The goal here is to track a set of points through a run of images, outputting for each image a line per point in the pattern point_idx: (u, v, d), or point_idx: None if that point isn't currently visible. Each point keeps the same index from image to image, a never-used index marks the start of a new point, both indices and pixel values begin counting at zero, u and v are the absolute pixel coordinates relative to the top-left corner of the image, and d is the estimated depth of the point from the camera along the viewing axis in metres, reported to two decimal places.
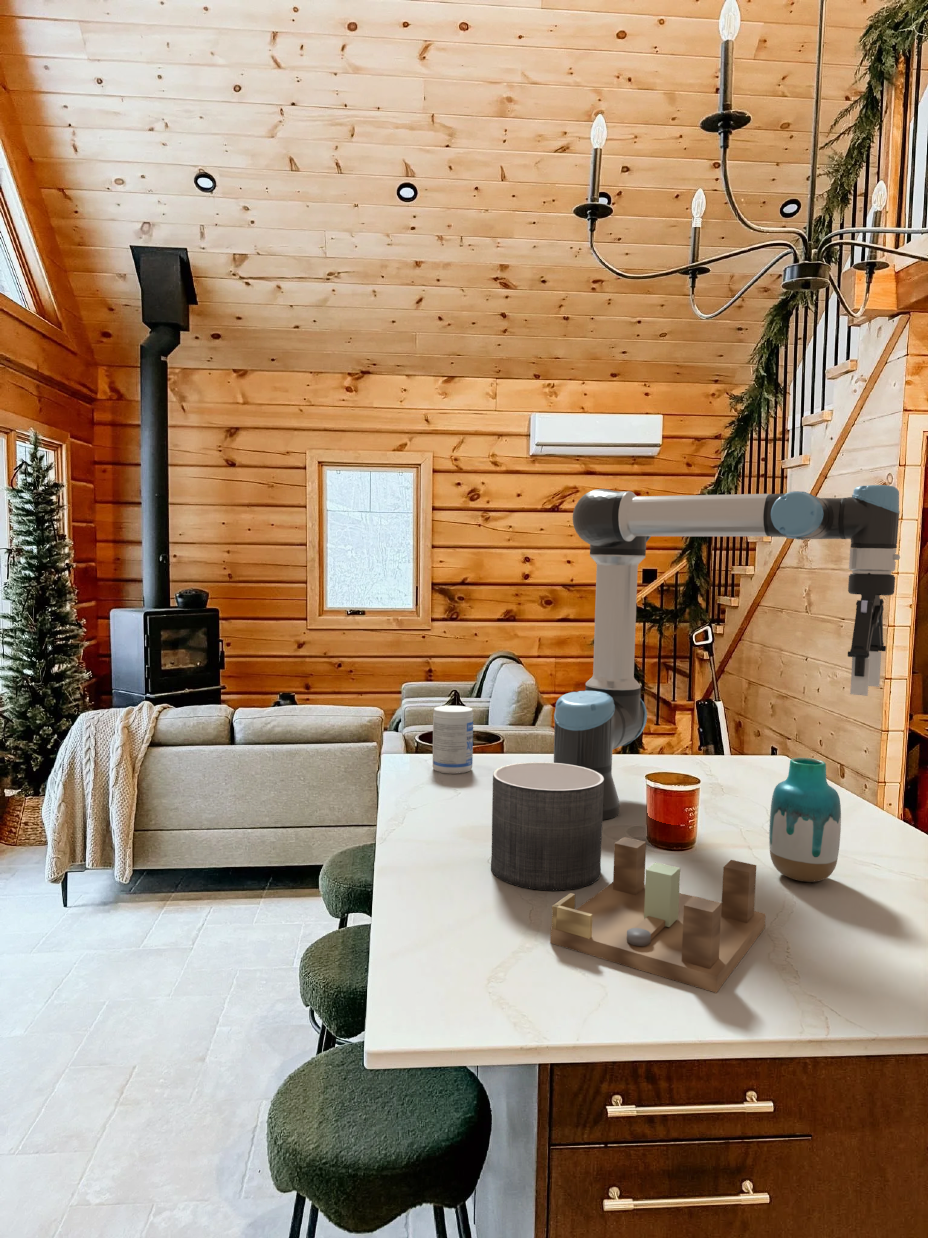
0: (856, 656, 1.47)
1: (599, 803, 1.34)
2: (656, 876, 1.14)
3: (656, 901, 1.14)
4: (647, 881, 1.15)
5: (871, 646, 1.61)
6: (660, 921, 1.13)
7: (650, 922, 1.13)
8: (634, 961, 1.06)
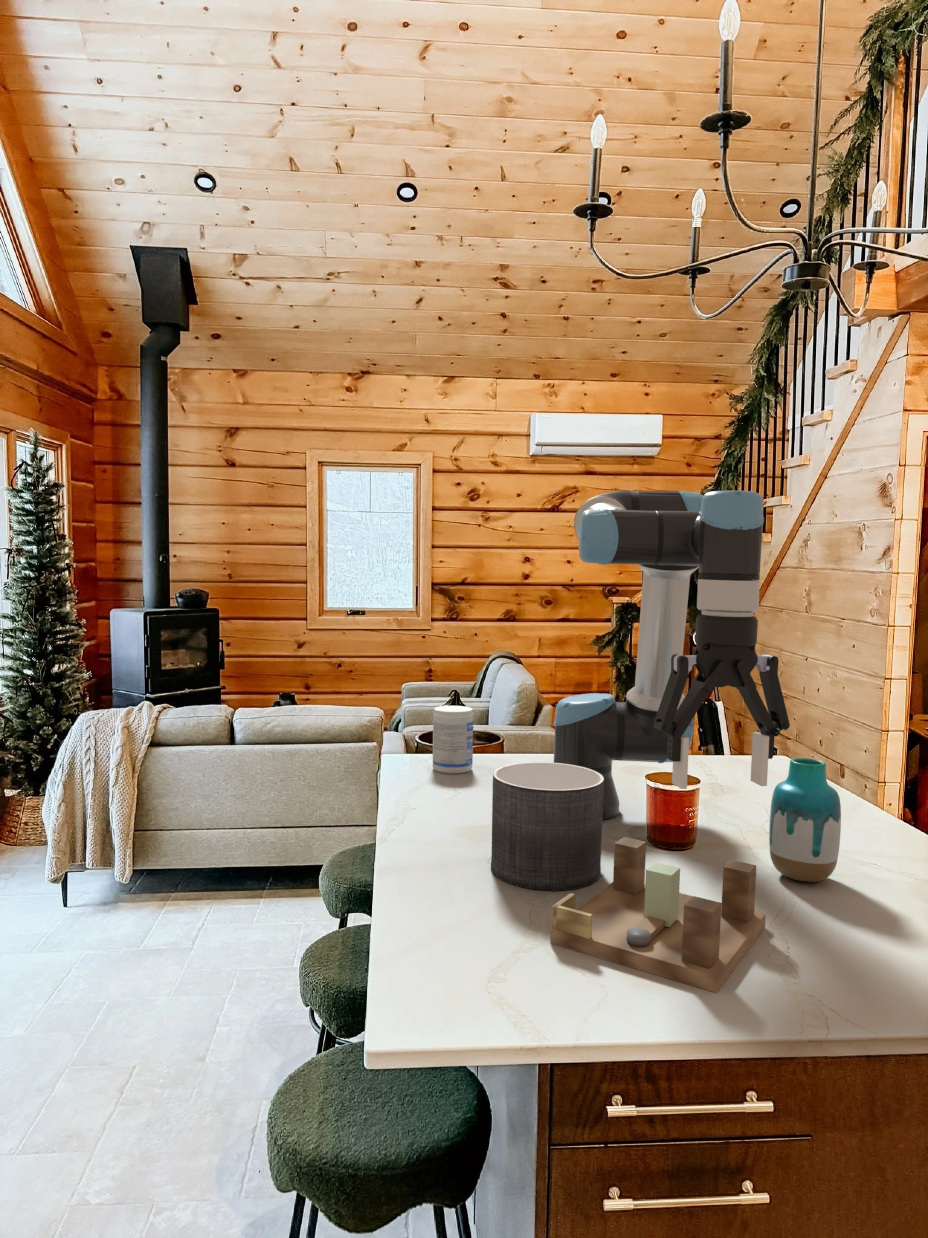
0: None
1: (599, 803, 1.34)
2: (656, 876, 1.14)
3: (656, 901, 1.14)
4: (647, 881, 1.15)
5: None
6: (660, 921, 1.13)
7: (650, 922, 1.13)
8: (634, 961, 1.06)
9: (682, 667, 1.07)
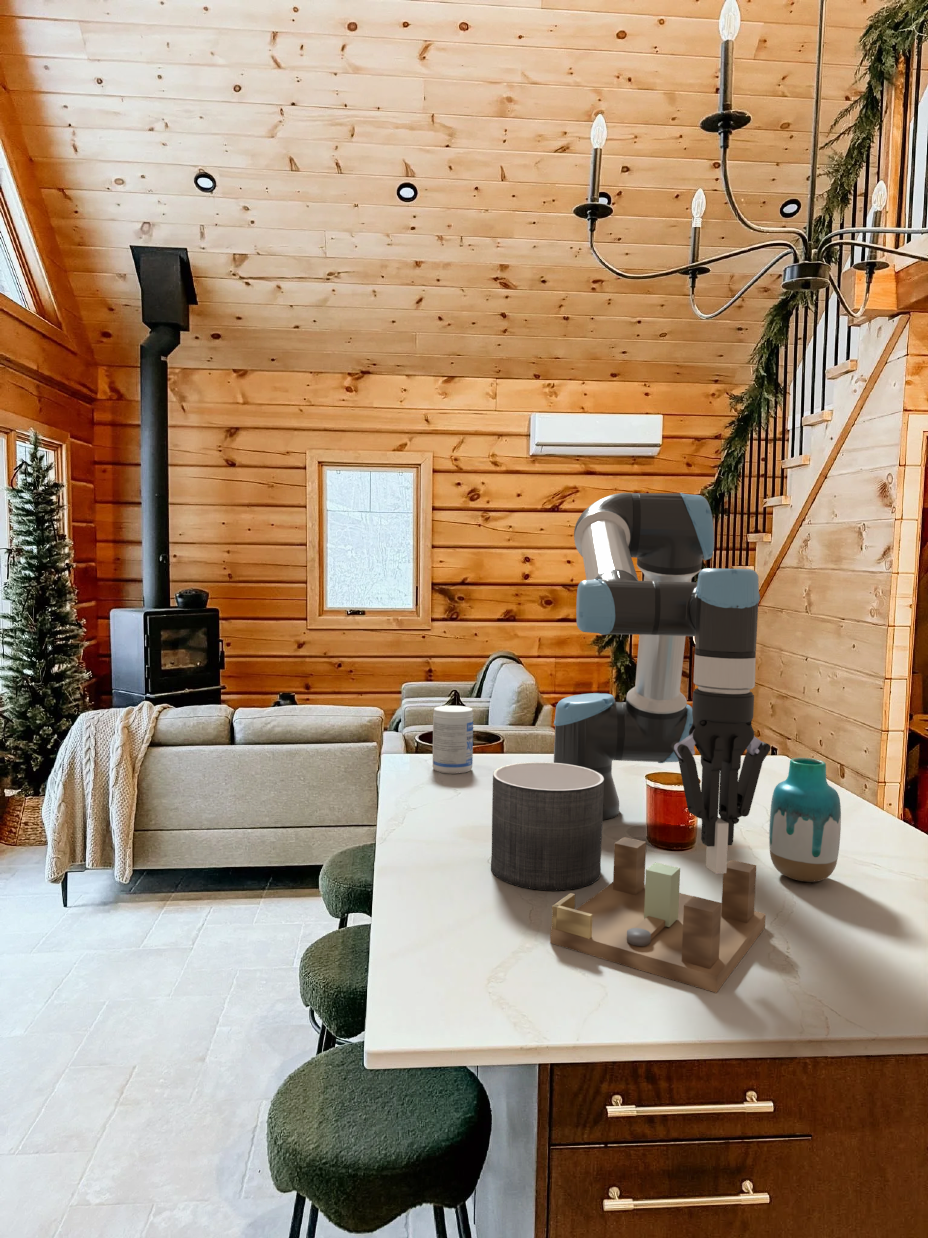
0: None
1: (599, 803, 1.34)
2: (656, 876, 1.14)
3: (656, 901, 1.14)
4: (647, 881, 1.15)
5: None
6: (660, 921, 1.13)
7: (650, 922, 1.13)
8: (634, 961, 1.06)
9: (685, 756, 1.08)
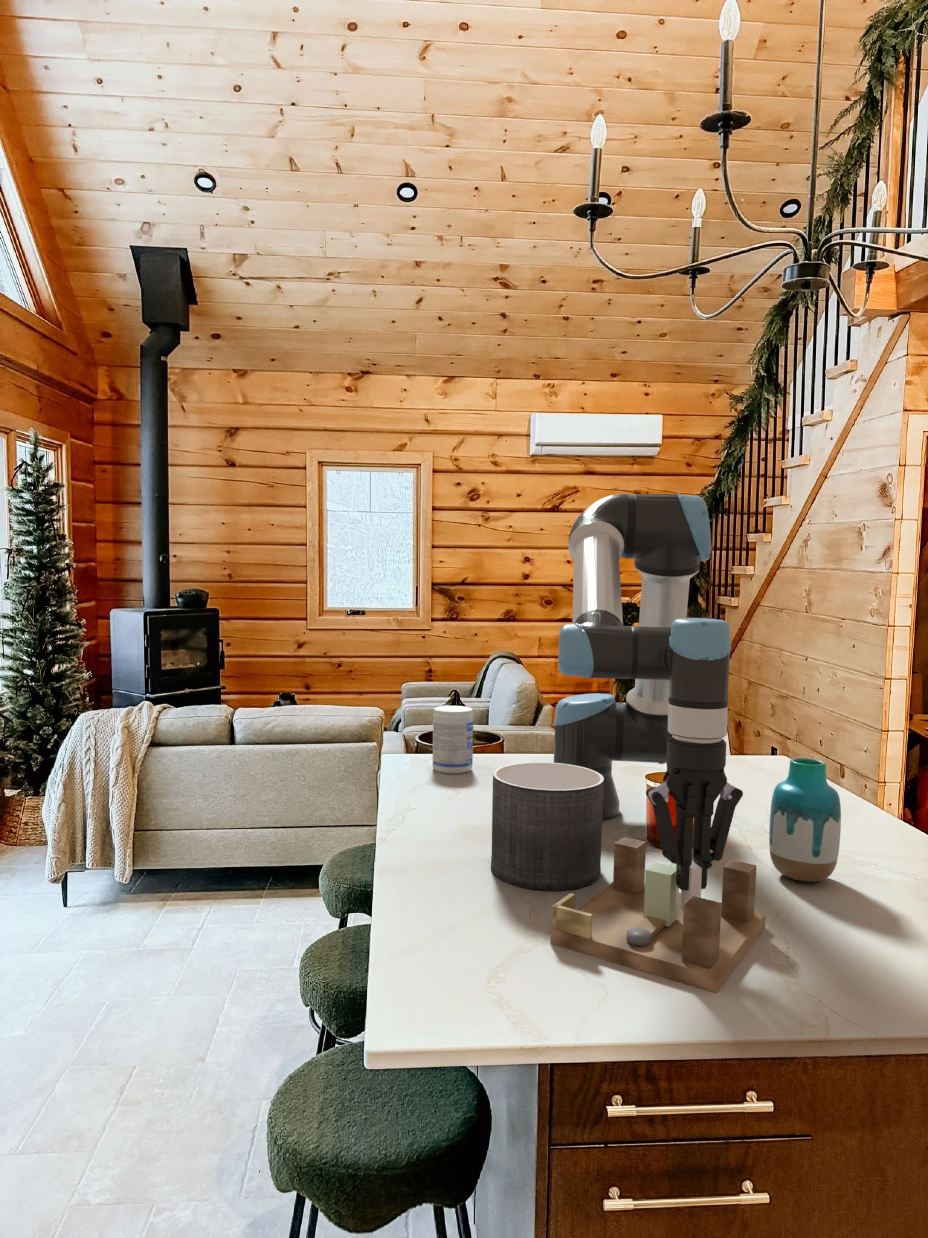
0: (709, 862, 1.13)
1: (599, 803, 1.34)
2: (656, 876, 1.14)
3: (656, 901, 1.14)
4: (647, 881, 1.15)
5: None
6: (660, 921, 1.13)
7: (650, 922, 1.13)
8: (634, 961, 1.06)
9: (659, 803, 1.10)
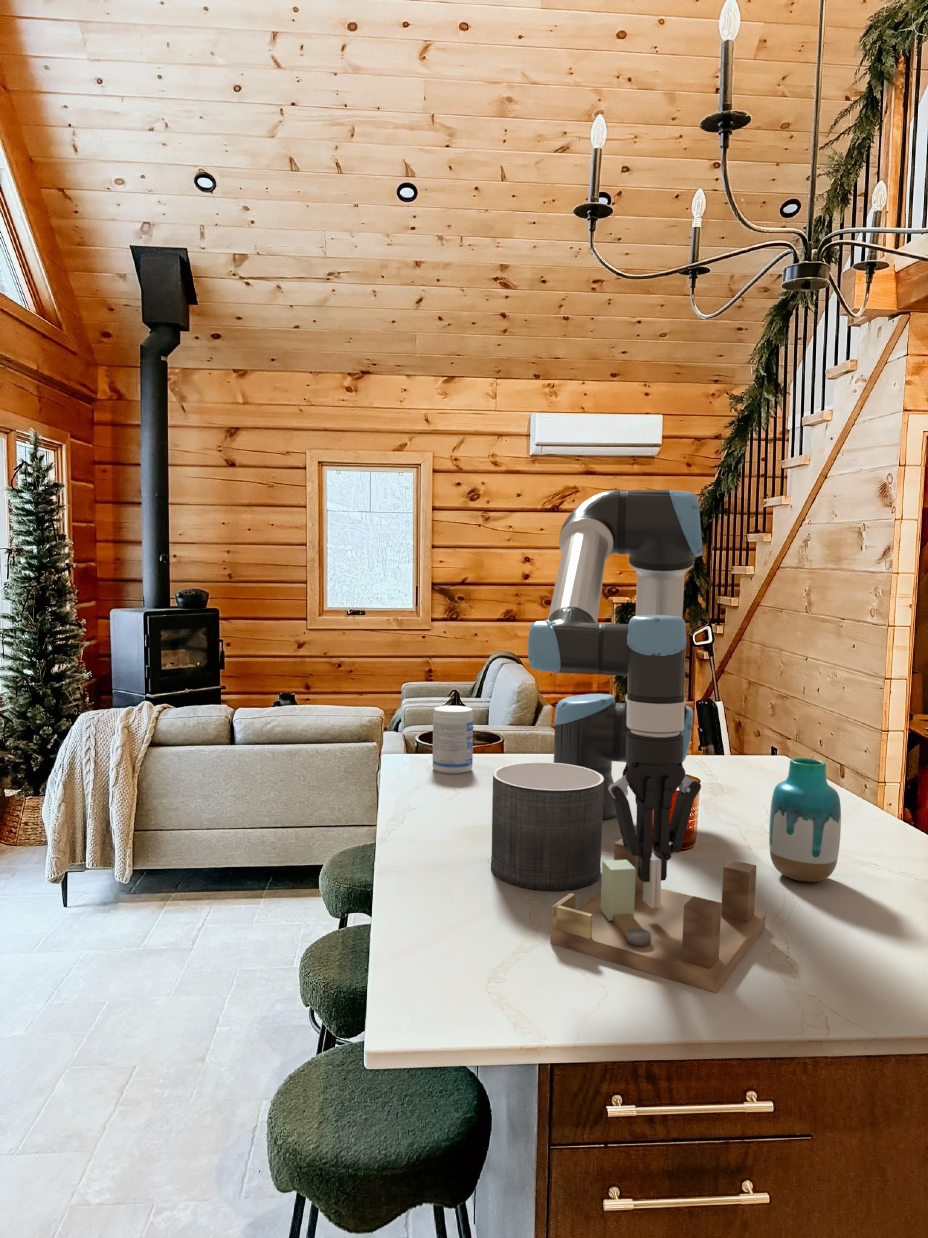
0: (669, 854, 1.15)
1: (599, 803, 1.34)
2: (621, 873, 1.15)
3: (621, 897, 1.15)
4: (612, 880, 1.14)
5: None
6: (629, 916, 1.15)
7: (625, 920, 1.13)
8: (634, 961, 1.06)
9: (619, 797, 1.12)
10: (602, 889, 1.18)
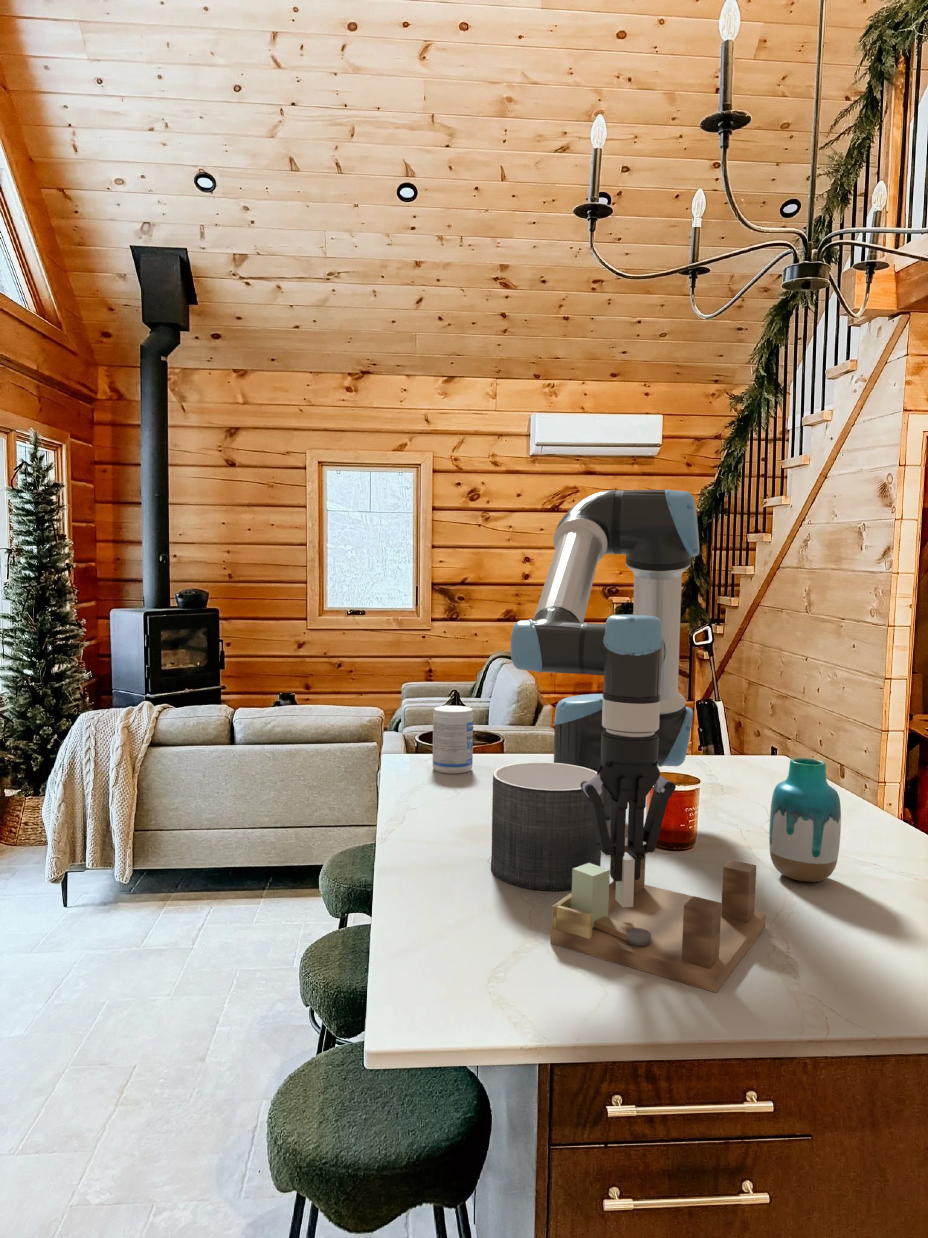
0: (643, 854, 1.15)
1: None
2: (600, 877, 1.13)
3: (599, 902, 1.13)
4: (594, 886, 1.12)
5: None
6: (608, 918, 1.14)
7: (610, 923, 1.12)
8: (634, 961, 1.06)
9: (592, 796, 1.12)
10: (574, 898, 1.14)
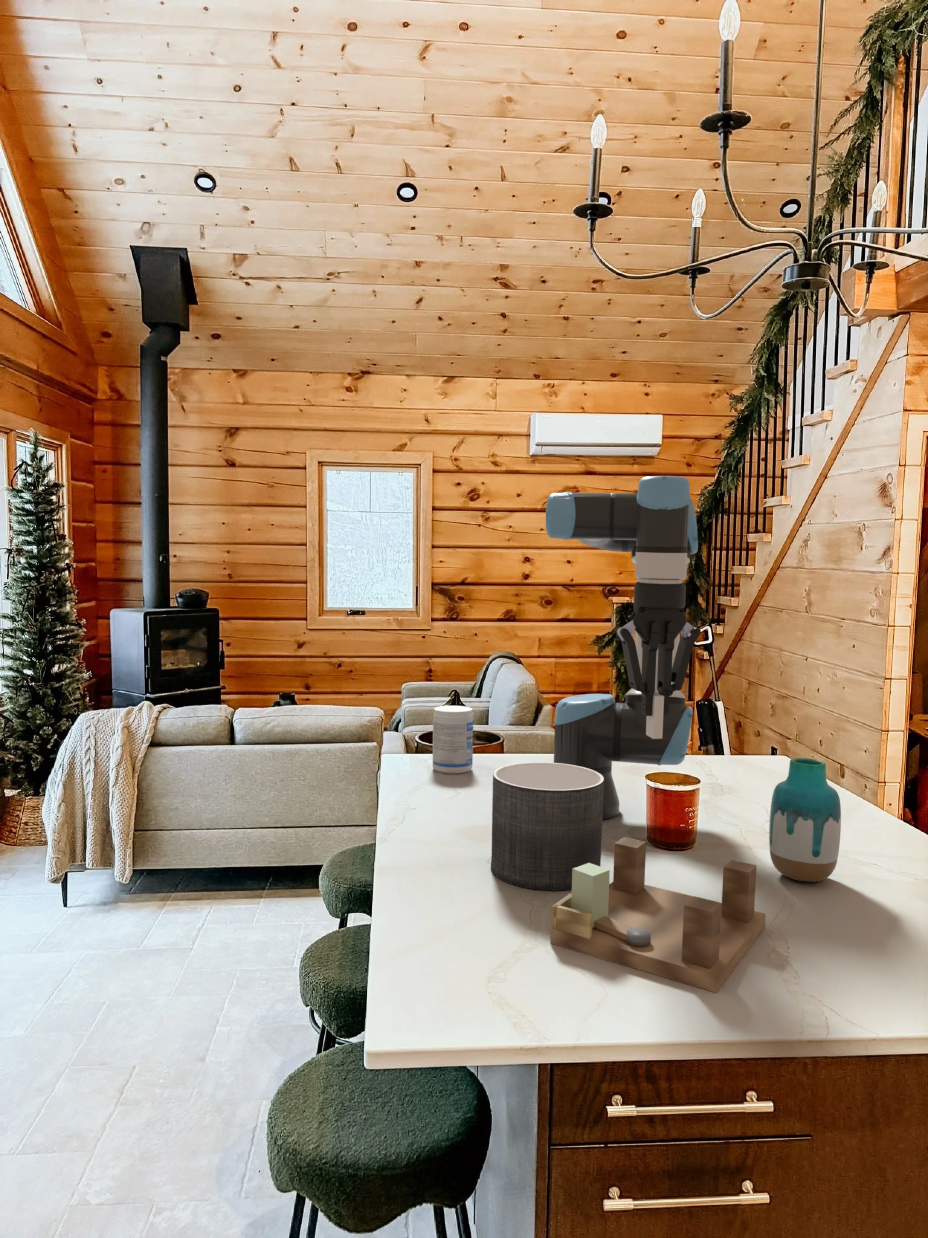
0: None
1: (599, 803, 1.34)
2: (600, 877, 1.13)
3: (599, 902, 1.13)
4: (594, 886, 1.12)
5: None
6: (608, 918, 1.14)
7: (610, 923, 1.12)
8: (634, 961, 1.06)
9: (626, 637, 1.26)
10: (573, 898, 1.14)
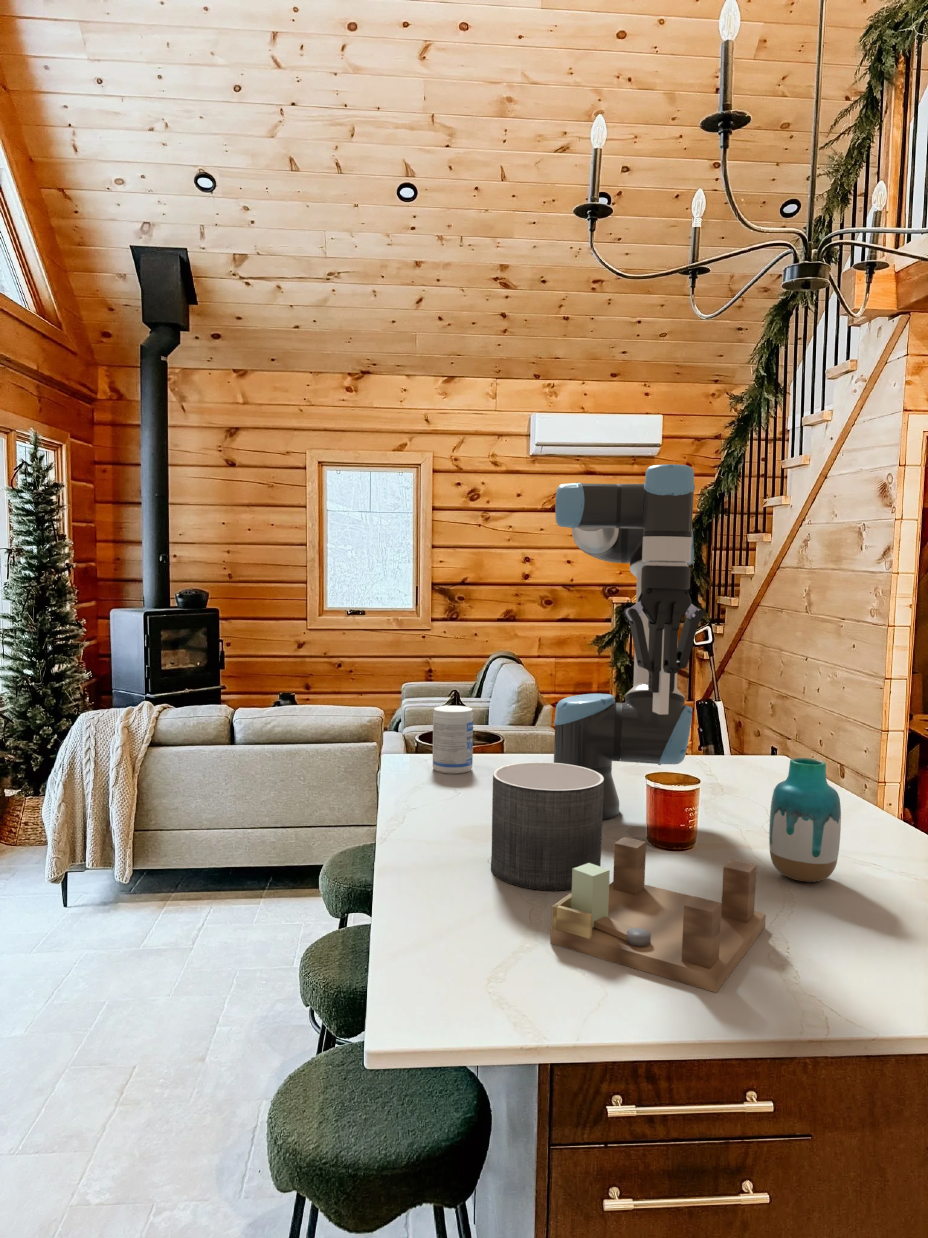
0: None
1: (599, 803, 1.34)
2: (600, 877, 1.13)
3: (599, 902, 1.13)
4: (594, 886, 1.12)
5: None
6: (608, 918, 1.14)
7: (610, 923, 1.12)
8: (634, 961, 1.06)
9: (634, 617, 1.33)
10: (573, 898, 1.14)
